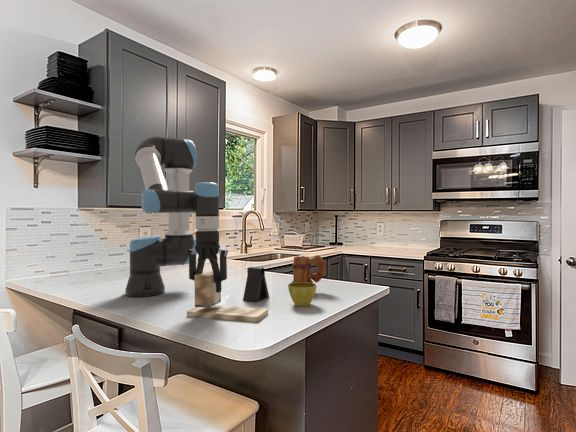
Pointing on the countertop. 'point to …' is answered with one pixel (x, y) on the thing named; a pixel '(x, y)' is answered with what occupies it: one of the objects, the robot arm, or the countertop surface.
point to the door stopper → (255, 285)
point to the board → (229, 313)
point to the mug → (307, 269)
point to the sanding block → (204, 290)
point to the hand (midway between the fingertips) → (208, 301)
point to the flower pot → (302, 292)
